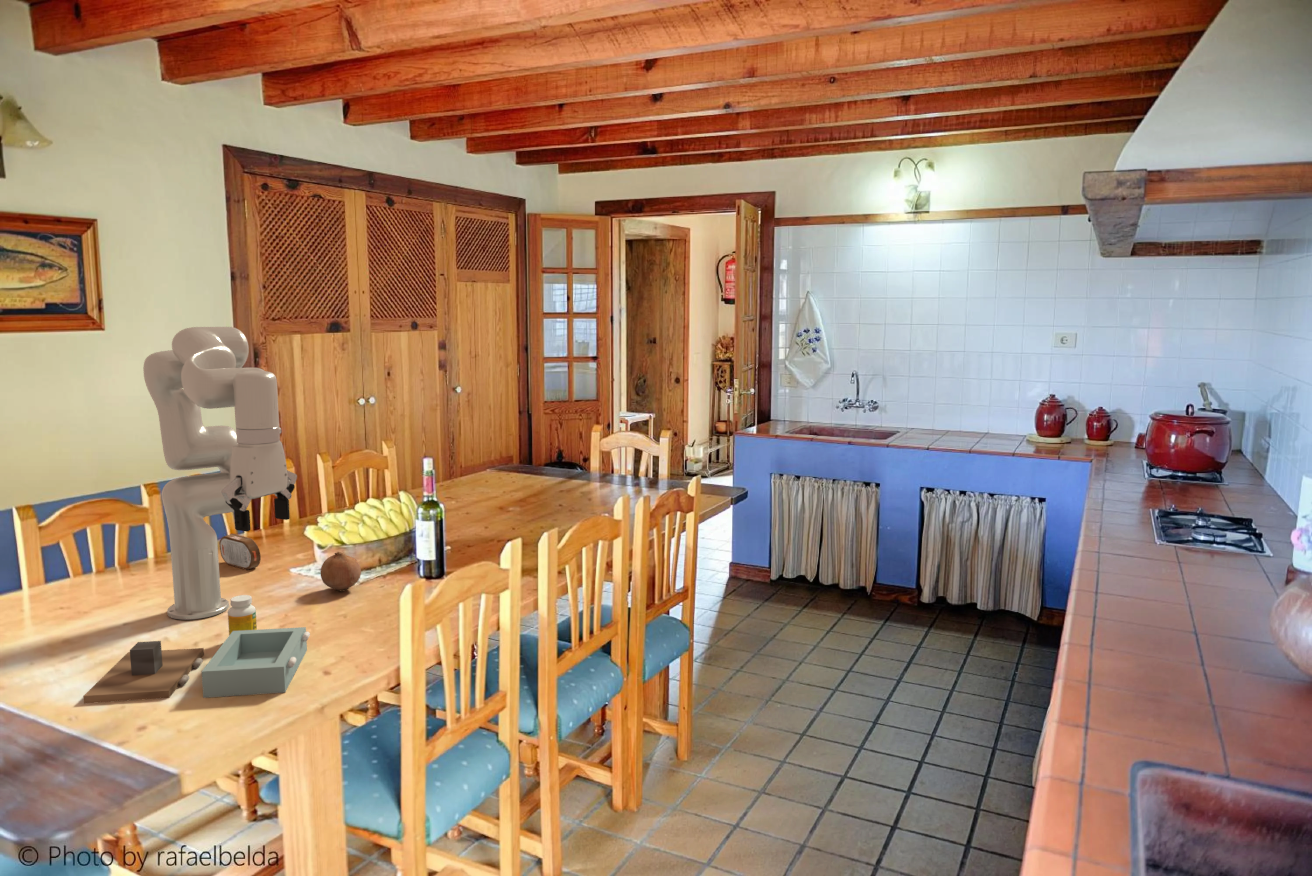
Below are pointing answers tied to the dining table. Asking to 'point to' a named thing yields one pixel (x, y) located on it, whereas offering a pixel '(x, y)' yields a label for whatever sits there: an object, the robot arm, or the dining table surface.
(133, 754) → the dining table surface
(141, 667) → the door
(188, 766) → the dining table surface
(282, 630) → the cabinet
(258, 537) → the dining table surface
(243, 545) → the tin
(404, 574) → the dining table surface
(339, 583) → the onion
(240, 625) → the supplement bottle
